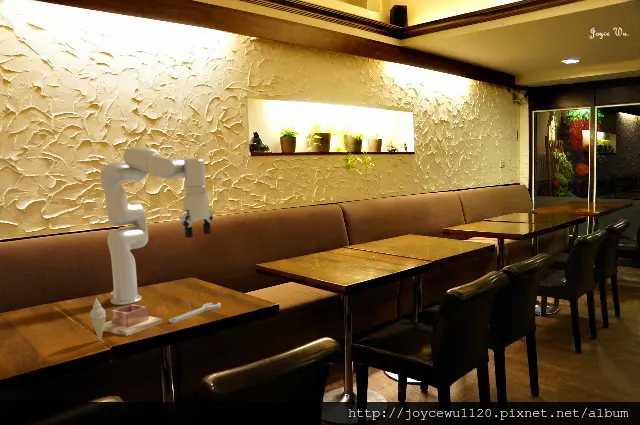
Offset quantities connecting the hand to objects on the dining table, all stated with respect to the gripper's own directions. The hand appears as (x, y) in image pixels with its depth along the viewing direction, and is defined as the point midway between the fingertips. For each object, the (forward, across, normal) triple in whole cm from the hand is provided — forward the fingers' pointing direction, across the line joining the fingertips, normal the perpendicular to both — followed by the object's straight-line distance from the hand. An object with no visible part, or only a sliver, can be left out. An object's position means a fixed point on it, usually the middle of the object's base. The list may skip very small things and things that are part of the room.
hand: (198, 235), depth 195 cm
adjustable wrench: (+32, 0, -4) cm, 32 cm away
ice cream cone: (+31, +37, -12) cm, 50 cm away
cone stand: (+31, +22, -15) cm, 41 cm away
